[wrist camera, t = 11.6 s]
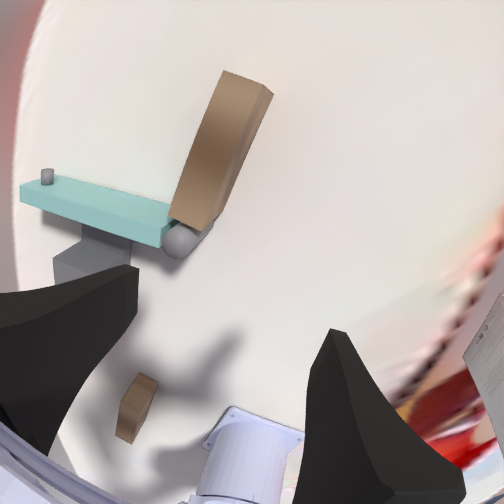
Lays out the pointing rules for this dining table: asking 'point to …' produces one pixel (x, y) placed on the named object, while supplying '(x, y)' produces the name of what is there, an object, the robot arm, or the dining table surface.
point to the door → (113, 212)
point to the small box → (490, 366)
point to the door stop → (91, 255)
